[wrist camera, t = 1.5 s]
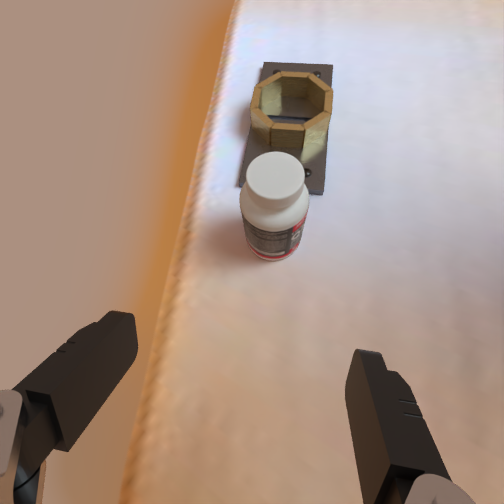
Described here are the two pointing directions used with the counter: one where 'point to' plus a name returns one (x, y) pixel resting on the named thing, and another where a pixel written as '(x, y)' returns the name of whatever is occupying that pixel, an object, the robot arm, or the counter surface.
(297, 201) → the pill bottle
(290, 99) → the octagonal bottle holder
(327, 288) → the counter surface
